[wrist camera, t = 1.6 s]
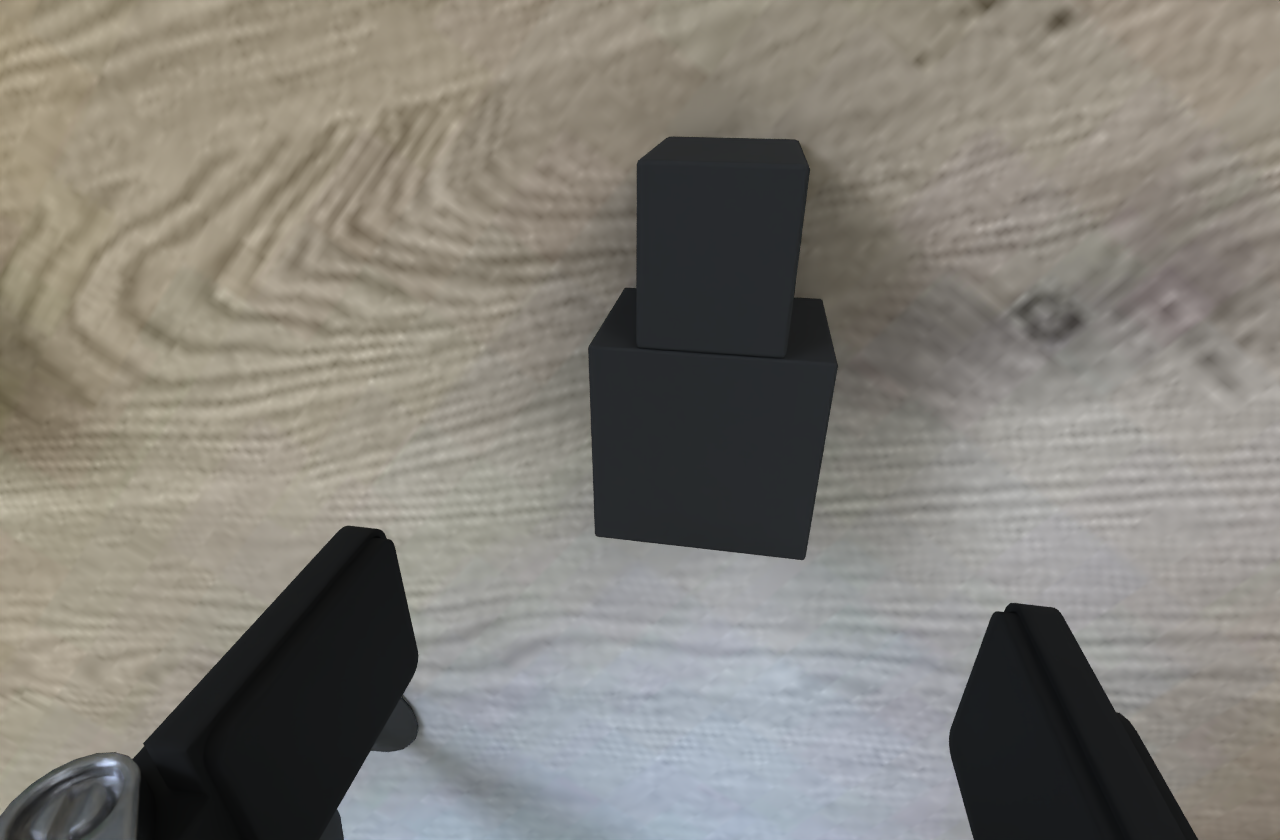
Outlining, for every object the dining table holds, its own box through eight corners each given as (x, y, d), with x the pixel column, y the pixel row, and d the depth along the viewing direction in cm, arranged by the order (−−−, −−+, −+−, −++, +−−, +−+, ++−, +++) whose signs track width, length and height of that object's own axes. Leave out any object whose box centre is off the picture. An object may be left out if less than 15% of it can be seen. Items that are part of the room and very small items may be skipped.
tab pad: (797, 467, 18) (804, 561, 15) (625, 451, 19) (594, 537, 16) (846, 140, 14) (872, 166, 11) (623, 135, 15) (580, 157, 11)
